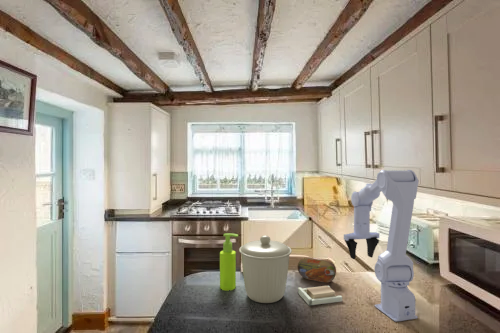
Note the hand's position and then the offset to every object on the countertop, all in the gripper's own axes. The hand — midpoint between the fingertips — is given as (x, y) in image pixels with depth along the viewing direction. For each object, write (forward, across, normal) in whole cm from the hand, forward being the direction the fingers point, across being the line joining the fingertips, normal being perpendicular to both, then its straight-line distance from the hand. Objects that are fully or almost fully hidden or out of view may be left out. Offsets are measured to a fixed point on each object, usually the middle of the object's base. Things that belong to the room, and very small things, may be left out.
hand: (361, 257), depth 111 cm
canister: (+10, +40, +3) cm, 41 cm away
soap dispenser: (+10, +51, -7) cm, 52 cm away
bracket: (+9, +22, +8) cm, 25 cm away
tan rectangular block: (+10, +22, +8) cm, 25 cm away
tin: (+10, +16, -6) cm, 20 cm away
